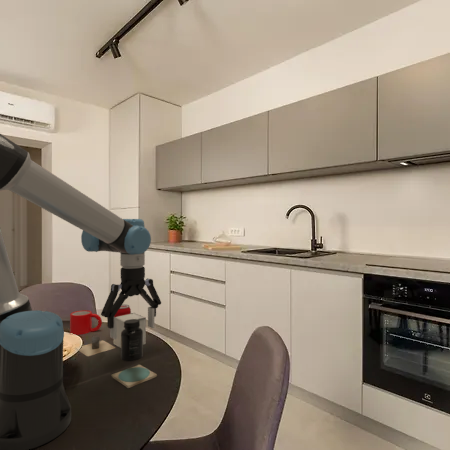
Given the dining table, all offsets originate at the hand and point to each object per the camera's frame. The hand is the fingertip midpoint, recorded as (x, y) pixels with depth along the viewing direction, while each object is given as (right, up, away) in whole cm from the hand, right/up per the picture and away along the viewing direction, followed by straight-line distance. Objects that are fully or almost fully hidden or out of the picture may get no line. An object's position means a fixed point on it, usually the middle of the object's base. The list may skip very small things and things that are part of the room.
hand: (133, 332), depth 102 cm
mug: (-25, -8, +23) cm, 35 cm away
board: (-15, -8, +6) cm, 18 cm away
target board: (+4, -8, -13) cm, 16 cm away
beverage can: (-9, -8, +18) cm, 22 cm away
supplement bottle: (0, -8, 0) cm, 8 cm away
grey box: (-4, -8, +10) cm, 14 cm away
